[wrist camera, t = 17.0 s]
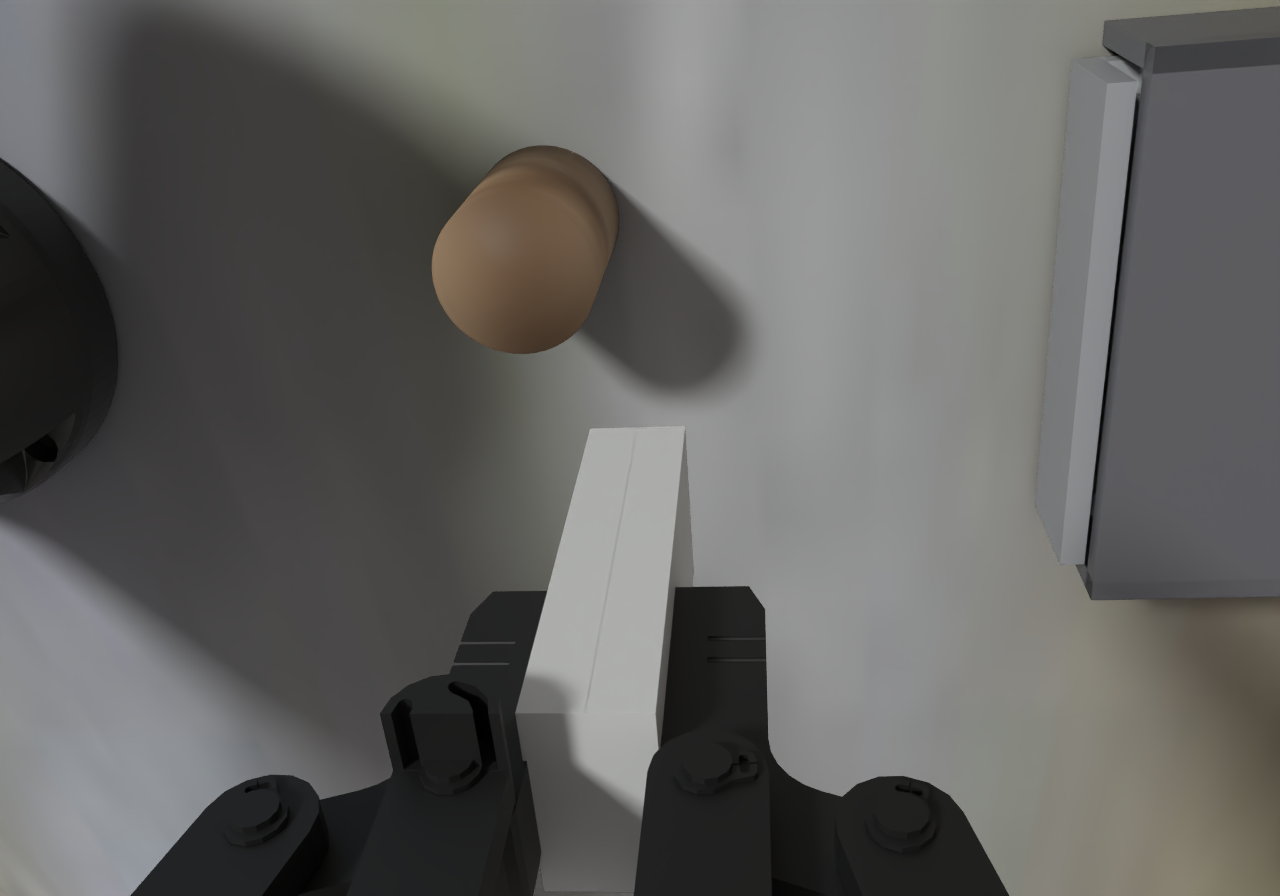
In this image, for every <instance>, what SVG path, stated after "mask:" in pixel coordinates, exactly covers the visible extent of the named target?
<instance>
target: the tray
mask: <svg viewBox="0 0 1280 896" xmlns="http://www.w3.org/2000/svg"><path fill="white" fill-rule="evenodd" d="M1142 76H1143V68H1141V67H1139V66H1138V65H1136V64H1134V63H1132V62H1131V61H1129V60H1127V59H1126V58H1124V57H1122V56H1120V55H1119V56H1107V57H1094V58H1081V59H1072V64H1071V76H1070V88H1069V100H1068V112H1067V124H1066V136H1065V148H1064V161H1063V173H1062V185H1061V197H1060V209H1059V221H1058V233H1057V245H1056V257H1055V269H1054V281H1053V293H1052V305H1051V317H1050V329H1049V341H1048V353H1047V365H1046V377H1045V389H1044V401H1043V413H1042V425H1041V437H1040V449H1039V461H1038V473H1037V485H1036V497H1035V506H1036V509H1037V511H1038V513H1039V516H1040V518H1041V521H1042V523H1043V525H1044V528H1045V530H1046V533H1047V535H1048V537H1049V540H1050V542H1051V545H1052V547H1053V550H1054V552H1055V554H1056V557H1057V559H1058V562H1059V564H1060V565H1076V564H1084V561H1085V552H1086V543H1087V534H1088V525H1089V516H1090V514H1091V516H1092V518H1093V513H1094V504H1095V495H1096V486H1097V477H1098V468H1099V459H1100V450H1101V441H1102V433H1103V424H1104V415H1105V406H1106V397H1107V388H1108V379H1109V370H1110V361H1111V352H1112V343H1113V334H1114V326H1115V317H1116V308H1117V299H1118V290H1119V281H1120V272H1121V263H1122V254H1123V245H1124V236H1125V228H1126V219H1127V210H1128V201H1129V192H1130V183H1131V174H1132V165H1133V156H1134V147H1135V138H1136V129H1137V121H1138V112H1139V103H1140V94H1141V85H1142Z"/></svg>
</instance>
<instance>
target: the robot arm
mask: <svg viewBox="0 0 1280 896" xmlns="http://www.w3.org/2000/svg"><path fill="white" fill-rule="evenodd" d="M116 374H117V346H116V337H115V330H114V325H113V321H112V316H111V313H110V309H109V306H108V303H107V300H106V297H105V294H104V292H103V289H102V286H101V284H100V282H99V280H98V277H97V275H96V273H95V271H94V269H93V267H92V265H91V263H90V261H89V259H88V258H87V256H86V254H85V253H84V251H83V249H82V248H81V246H80V244H79V243H78V241H77V240H76V239H75V237H74V236H73V234H72V233H71V231H70V230H69V229H68V227H67V226H66V225H65V223H64V222H63V221H62V220H61V218H60V217H59V216H58V215H57V213H56V212H55V211H54V210H53V209H52V208H51V207H50V205H49V204H48V203H47V202H46V201H45V200H44V199H43V198H42V197H41V196H40V195H39V194H38V193H37V192H36V191H35V190H34V189H33V188H32V187H31V186H30V185H29V184H27V183H26V182H25V181H24V180H23V179H22V178H21V177H20V176H18V175H17V174H16V173H15V172H13V171H12V170H11V169H10V168H9V167H7V166H6V165H4V164H3V163H2V162H0V503H3V502H6V501H9V500H12V499H14V498H16V497H19V496H21V495H23V494H25V493H26V492H28V491H30V490H32V489H34V488H35V487H37V486H39V485H40V484H42V483H43V482H45V481H46V480H47V479H49V478H50V477H51V476H52V475H54V474H55V473H56V472H57V471H58V470H59V469H60V468H62V467H63V466H64V465H65V464H66V463H67V462H68V461H70V460H71V459H72V458H73V457H74V456H75V455H76V454H77V453H79V452H80V451H81V450H82V449H83V448H84V447H85V446H86V445H87V444H88V442H89V441H90V440H91V439H92V438H93V436H94V435H95V433H96V432H97V430H98V429H99V427H100V426H101V424H102V422H103V420H104V418H105V416H106V414H107V411H108V409H109V407H110V404H111V400H112V397H113V393H114V388H115V383H116ZM693 574H694V567H693V550H692V534H691V517H690V500H689V484H688V467H687V450H686V434H685V426H673V427H635V428H598V429H590V431H589V435H588V439H587V443H586V447H585V450H584V454H583V458H582V462H581V466H580V469H579V473H578V477H577V481H576V485H575V488H574V492H573V496H572V500H571V504H570V507H569V511H568V515H567V519H566V522H565V526H564V530H563V534H562V538H561V541H560V545H559V549H558V553H557V557H556V560H555V564H554V568H553V572H552V576H551V579H550V583H549V587H548V591H508V592H492V593H491V594H490V595H489V596H488V597H487V598H486V599H485V600H484V601H483V602H482V603H481V604H480V605H479V606H478V607H477V608H476V609H475V610H474V612H473V613H472V614H471V615H470V617H469V620H468V623H467V626H466V629H465V631H464V634H463V637H462V640H461V641H462V643H461V645H460V646H459V648H458V651H457V654H456V657H455V660H454V666H452V668H451V671H450V674H448V675H440V676H432V677H428V678H426V679H423V680H421V681H418V682H416V683H413V684H410V685H408V686H407V687H405V688H404V689H403V690H401V691H400V692H399V693H397V694H396V695H394V696H393V697H392V698H391V699H390V700H389V701H388V703H387V704H386V706H385V707H384V709H383V710H382V712H381V713H380V716H381V720H382V725H383V729H384V733H385V737H386V741H387V746H388V750H389V754H390V758H391V763H392V767H393V773H392V775H391V778H389V779H387V780H385V781H383V782H381V783H380V784H377V785H374V786H371V787H368V788H365V789H362V790H359V791H355V792H351V793H347V794H343V795H339V796H335V797H330V798H326V799H322V800H319V796H318V795H317V793H316V792H315V790H314V789H313V788H312V786H311V785H310V784H309V783H308V782H306V781H304V780H301V779H299V778H297V777H294V776H290V775H267V776H263V777H259V778H255V779H251V780H247V781H245V782H243V783H241V784H239V785H237V786H235V787H233V788H231V789H229V790H227V791H225V792H224V793H223V794H222V795H220V796H219V797H218V798H217V799H216V800H215V801H214V802H212V803H211V804H210V805H209V806H208V807H207V808H206V809H205V810H204V811H203V812H202V813H201V815H200V816H199V817H198V818H197V819H196V820H195V821H194V823H193V824H192V825H191V826H190V827H189V828H188V830H187V831H186V832H185V833H184V834H183V835H182V837H181V838H180V839H179V840H178V841H177V842H176V843H175V845H174V846H173V847H172V848H171V849H170V850H169V852H168V853H167V854H166V855H165V856H164V857H163V859H162V860H161V861H160V862H159V863H158V864H157V865H156V867H155V868H154V869H153V870H152V871H151V872H150V874H149V875H148V876H147V877H146V878H145V879H144V881H143V882H142V883H141V884H140V885H139V886H138V887H137V889H136V890H135V891H134V892H133V893H132V894H131V896H533V893H534V888H535V883H536V878H537V873H538V868H539V863H540V869H541V875H542V881H543V887H544V891H565V892H620V893H634V896H1009V894H1008V893H1007V891H1006V889H1005V887H1004V885H1003V883H1002V882H1001V880H1000V878H999V876H998V874H997V873H996V871H995V869H994V867H993V865H992V863H991V862H990V860H989V858H988V856H987V854H986V852H985V851H984V849H983V847H982V845H981V843H980V841H979V840H978V838H977V836H976V834H975V832H974V831H973V829H972V827H971V825H970V823H969V821H968V820H967V818H966V816H965V814H964V812H963V811H962V810H961V809H960V808H959V806H958V805H957V804H956V803H955V802H954V800H953V799H952V798H951V797H950V796H949V795H948V794H946V793H945V792H943V791H941V790H940V789H938V788H936V787H935V786H933V785H931V784H930V783H928V782H924V781H920V780H916V779H912V778H909V777H905V776H887V777H876V778H873V779H871V780H868V781H865V782H862V783H859V784H857V785H856V786H854V787H853V788H852V789H851V790H850V791H849V792H847V793H846V794H845V795H844V796H843V797H841V796H837V795H833V794H830V793H826V792H822V791H819V790H817V789H814V788H811V787H809V786H806V785H804V784H802V783H800V782H799V781H797V780H796V779H794V778H792V777H791V776H789V775H788V774H787V773H786V772H785V771H784V770H783V769H782V768H781V767H780V766H779V765H778V764H777V762H776V760H775V758H774V757H773V755H772V753H771V750H770V745H769V740H768V711H767V671H766V632H765V609H764V607H763V606H762V604H761V603H760V602H759V600H758V599H757V597H756V596H755V594H754V593H753V592H752V590H751V589H750V587H749V586H735V587H693Z"/></svg>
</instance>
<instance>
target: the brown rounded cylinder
mask: <svg viewBox="0 0 1280 896" xmlns="http://www.w3.org/2000/svg"><path fill="white" fill-rule="evenodd" d="M618 230H619V212H618V206H617V202H616V199H615V195H614V193H613V191H612V189H611V187H610V185H609V183H608V182H607V180H606V178H605V177H604V176H603V175H602V173H601V172H600V171H599V170H598V169H597V168H596V167H595V166H594V165H593V164H592V163H590V162H589V161H588V160H586V159H585V158H584V157H582V156H580V155H578V154H576V153H574V152H572V151H569V150H567V149H563V148H560V147H555V146H531V147H526V148H523V149H519V150H517V151H515V152H513V153H510V154H509V155H507V156H506V157H504V158H503V159H501V160H500V161H499V162H498V163H497V164H496V165H495V166H494V167H493V168H492V169H491V170H490V171H489V172H488V174H487V175H486V176H485V177H484V178H483V180H482V181H481V182H480V183H479V185H478V186H477V187H476V188H475V189H474V191H473V192H472V193H471V194H470V195H469V197H468V198H467V199H466V200H465V201H464V203H463V204H462V205H461V206H460V207H459V209H458V210H457V211H456V212H455V213H454V215H453V216H452V217H451V218H450V219H449V221H448V222H447V223H446V225H445V226H444V228H443V229H442V231H441V232H440V234H439V237H438V239H437V241H436V244H435V247H434V251H433V257H432V277H433V283H434V287H435V291H436V294H437V296H438V299H439V301H440V303H441V305H442V307H443V309H444V311H445V312H446V314H447V315H448V316H449V318H450V319H451V320H452V321H453V323H454V324H455V325H456V326H457V327H458V328H459V329H460V330H461V331H463V332H464V333H465V334H466V335H467V336H469V337H470V338H472V339H473V340H475V341H477V342H478V343H480V344H482V345H484V346H487V347H489V348H492V349H494V350H498V351H502V352H507V353H514V354H528V353H536V352H540V351H545V350H548V349H550V348H553V347H555V346H557V345H559V344H561V343H563V342H564V341H566V340H567V339H568V338H570V337H571V336H572V335H573V334H574V333H575V332H576V331H577V330H578V329H579V328H580V327H581V326H582V324H583V323H584V322H585V320H586V318H587V317H588V315H589V313H590V311H591V308H592V306H593V303H594V300H595V298H596V295H597V292H598V289H599V287H600V284H601V281H602V278H603V276H604V273H605V270H606V268H607V265H608V262H609V259H610V257H611V254H612V251H613V248H614V246H615V243H616V240H617V235H618Z"/></svg>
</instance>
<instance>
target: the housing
mask: <svg viewBox="0 0 1280 896" xmlns="http://www.w3.org/2000/svg"><path fill="white" fill-rule="evenodd" d="M1102 45H1103V46H1105V47H1107V48H1109V49H1110V50H1112V51H1114V52H1115V53H1117V54H1119V55H1120V56H1122V57H1124V58H1126V59H1127V60H1129V61H1131V62H1132V63H1134V64H1136V65H1138V66H1139V67H1141V68H1143V76H1142V85H1141V94H1140V103H1139V112H1138V121H1137V129H1136V138H1135V147H1134V156H1133V165H1132V174H1131V183H1130V192H1129V201H1128V210H1127V219H1126V228H1125V236H1124V245H1123V254H1122V263H1121V272H1120V281H1119V290H1118V299H1117V308H1116V317H1115V326H1114V334H1113V343H1112V352H1111V361H1110V370H1109V379H1108V388H1107V397H1106V406H1105V415H1104V424H1103V433H1102V441H1101V450H1100V459H1099V468H1098V477H1097V486H1096V495H1095V504H1094V513H1093V518H1092V516H1091V514H1090V516H1089V525H1088V534H1087V543H1086V552H1085V561H1084V564H1076V567H1077V569H1078V571H1079V574H1080V576H1081V578H1082V580H1083V583H1084V585H1085V587H1086V590H1087V592H1088V594H1089V596H1090V599H1091V600H1129V599H1181V598H1233V597H1280V6H1279V7H1267V8H1255V9H1243V10H1231V11H1219V12H1206V13H1194V14H1182V15H1170V16H1158V17H1146V18H1133V19H1121V20H1109V21H1105V23H1104V34H1103V44H1102Z"/></svg>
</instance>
